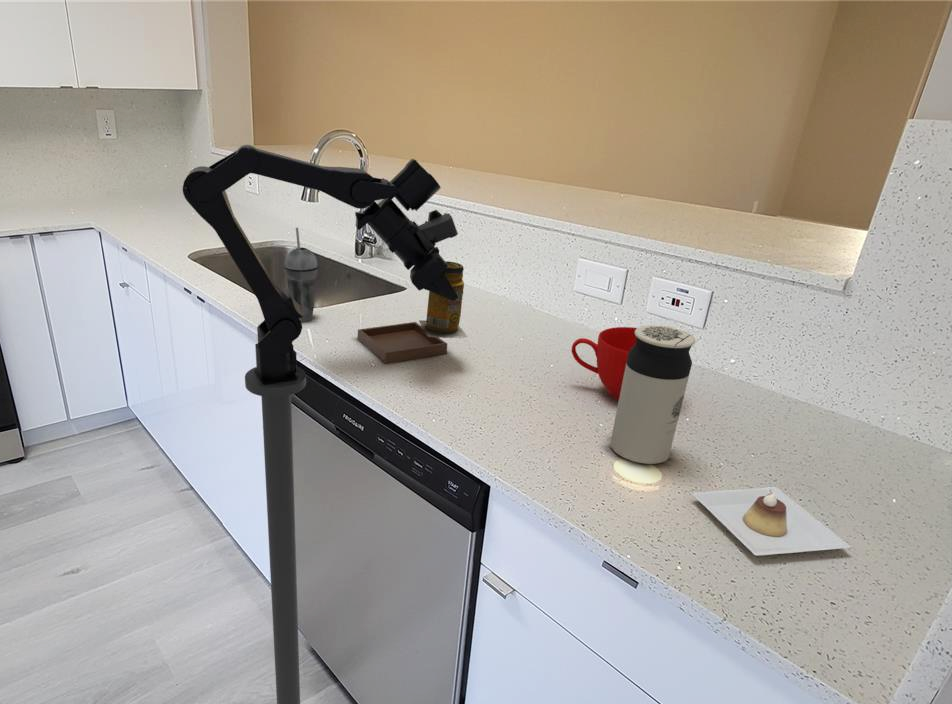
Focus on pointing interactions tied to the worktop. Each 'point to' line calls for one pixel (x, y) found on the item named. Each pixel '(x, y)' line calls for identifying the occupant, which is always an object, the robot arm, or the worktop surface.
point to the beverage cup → (302, 278)
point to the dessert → (769, 521)
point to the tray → (401, 342)
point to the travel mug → (652, 394)
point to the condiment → (446, 308)
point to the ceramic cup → (610, 356)
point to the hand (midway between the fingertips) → (453, 293)
